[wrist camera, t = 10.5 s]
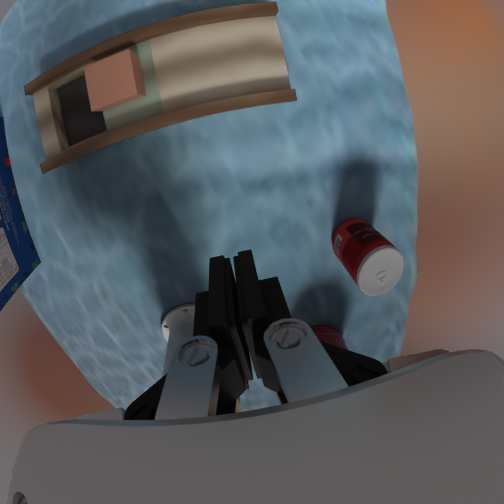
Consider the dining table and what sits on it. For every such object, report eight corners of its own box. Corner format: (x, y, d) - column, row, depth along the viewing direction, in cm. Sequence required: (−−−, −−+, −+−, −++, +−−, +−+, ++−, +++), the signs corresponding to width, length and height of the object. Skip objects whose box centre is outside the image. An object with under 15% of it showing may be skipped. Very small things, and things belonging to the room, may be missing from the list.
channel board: (287, 102, 34) (297, 100, 29) (59, 166, 33) (42, 173, 29) (269, 14, 27) (276, 1, 22) (42, 86, 26) (24, 86, 22)
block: (146, 95, 28) (137, 93, 25) (104, 111, 28) (91, 111, 25) (138, 55, 26) (129, 48, 22) (96, 71, 26) (83, 67, 22)
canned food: (342, 267, 47) (369, 305, 38) (322, 234, 44) (349, 270, 34) (377, 242, 46) (410, 275, 36) (359, 207, 42) (395, 236, 33)
